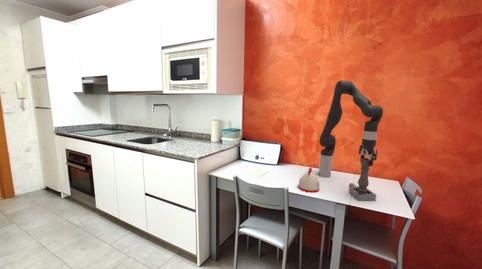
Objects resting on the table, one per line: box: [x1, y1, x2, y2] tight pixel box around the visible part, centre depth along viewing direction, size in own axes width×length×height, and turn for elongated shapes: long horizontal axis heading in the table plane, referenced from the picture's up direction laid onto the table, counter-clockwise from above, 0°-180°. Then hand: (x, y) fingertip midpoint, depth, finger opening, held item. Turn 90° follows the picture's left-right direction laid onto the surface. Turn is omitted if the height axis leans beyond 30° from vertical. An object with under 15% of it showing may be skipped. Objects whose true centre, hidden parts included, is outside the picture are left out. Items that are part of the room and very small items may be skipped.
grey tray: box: [348, 182, 377, 202], centre depth 146 cm, size 18×11×5 cm, turn 3°
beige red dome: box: [297, 166, 320, 194], centre depth 152 cm, size 14×14×15 cm
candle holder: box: [357, 157, 371, 194], centre depth 140 cm, size 6×6×25 cm
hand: (366, 163), depth 139 cm, fingers open, 8 cm apart
